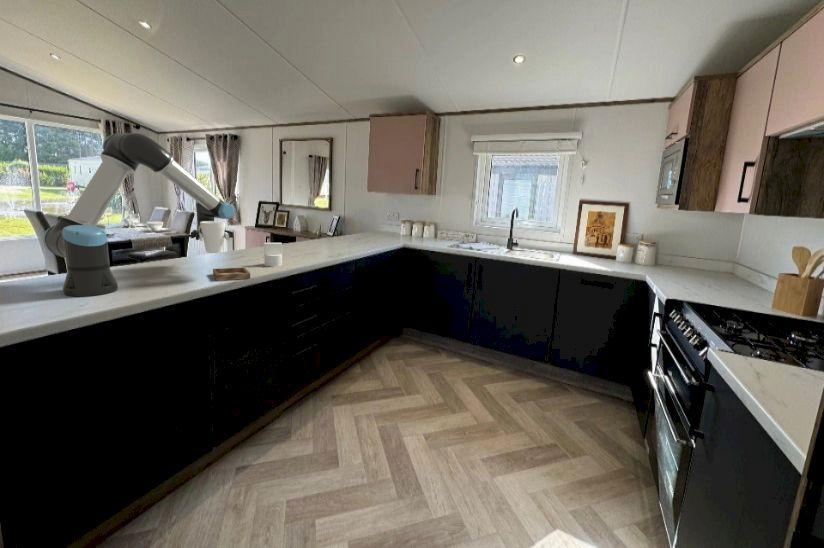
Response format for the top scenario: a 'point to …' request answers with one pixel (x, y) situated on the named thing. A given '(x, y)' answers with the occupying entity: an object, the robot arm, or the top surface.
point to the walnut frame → (231, 273)
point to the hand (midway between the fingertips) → (214, 237)
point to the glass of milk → (273, 254)
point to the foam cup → (213, 235)
